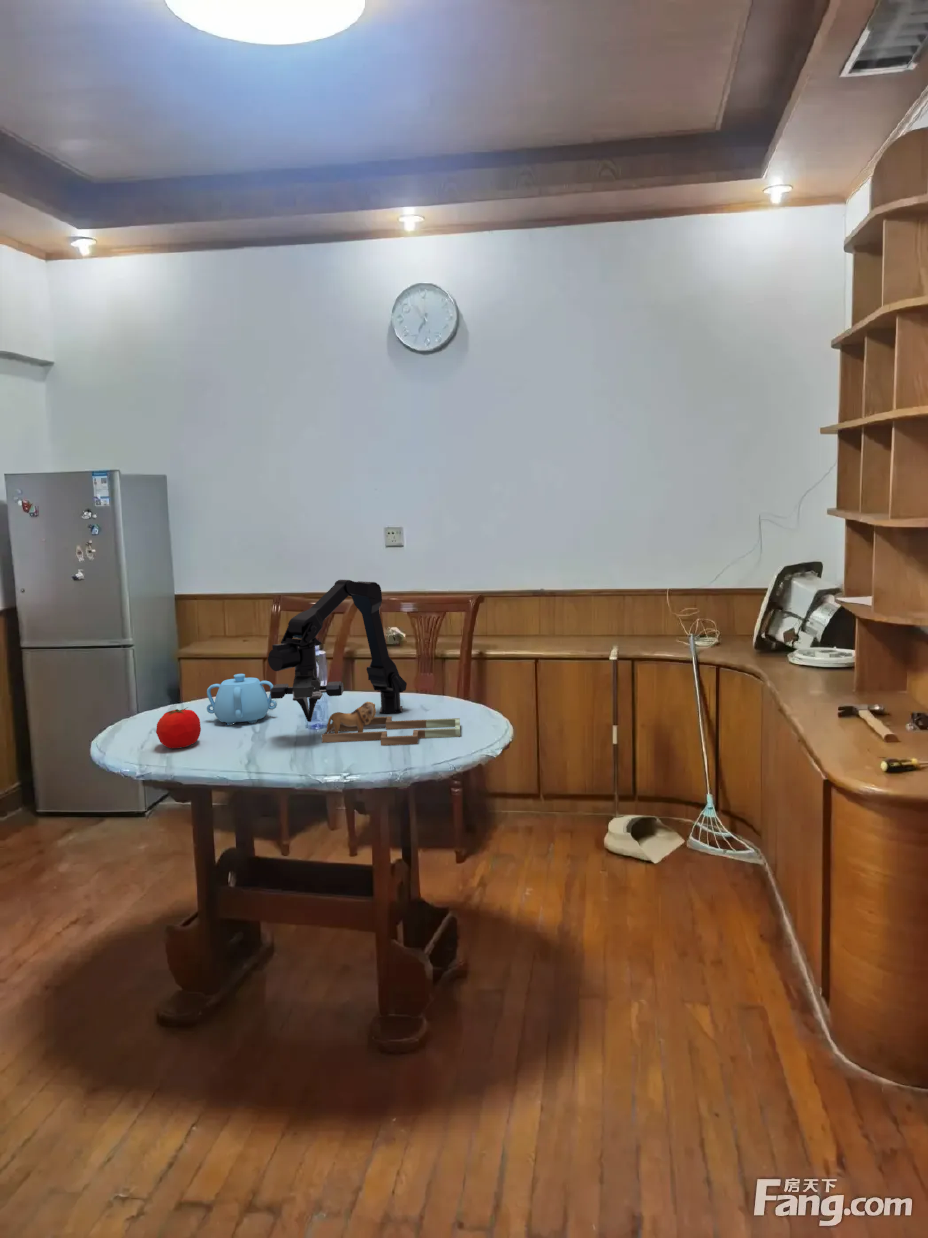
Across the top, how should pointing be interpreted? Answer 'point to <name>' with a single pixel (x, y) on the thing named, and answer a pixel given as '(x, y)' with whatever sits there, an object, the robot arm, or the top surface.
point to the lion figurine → (352, 718)
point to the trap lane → (389, 724)
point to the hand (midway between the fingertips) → (309, 721)
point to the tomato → (178, 728)
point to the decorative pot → (240, 700)
